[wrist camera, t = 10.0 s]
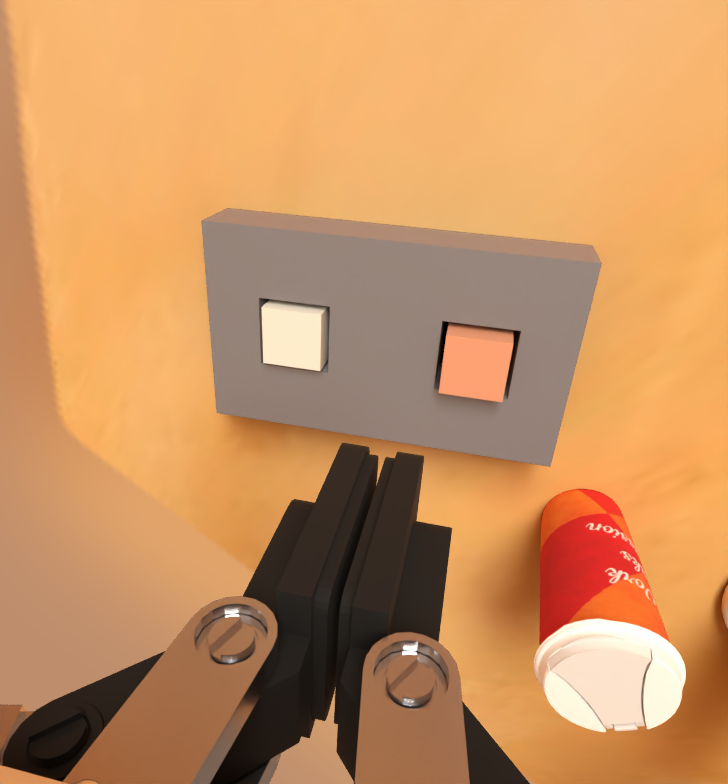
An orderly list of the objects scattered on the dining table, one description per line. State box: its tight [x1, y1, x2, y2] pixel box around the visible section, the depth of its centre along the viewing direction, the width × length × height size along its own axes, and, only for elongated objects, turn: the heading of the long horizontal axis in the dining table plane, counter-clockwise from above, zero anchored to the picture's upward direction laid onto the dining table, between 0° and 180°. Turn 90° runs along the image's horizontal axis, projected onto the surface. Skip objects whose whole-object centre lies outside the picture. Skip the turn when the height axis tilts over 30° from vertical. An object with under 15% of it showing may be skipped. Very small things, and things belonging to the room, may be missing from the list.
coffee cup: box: [534, 489, 686, 732], centre depth 39 cm, size 8×8×15 cm
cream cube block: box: [261, 299, 330, 371], centre depth 40 cm, size 4×4×4 cm
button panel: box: [202, 208, 602, 467], centre depth 40 cm, size 14×24×4 cm, turn 87°
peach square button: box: [439, 322, 514, 402], centre depth 38 cm, size 4×4×4 cm
